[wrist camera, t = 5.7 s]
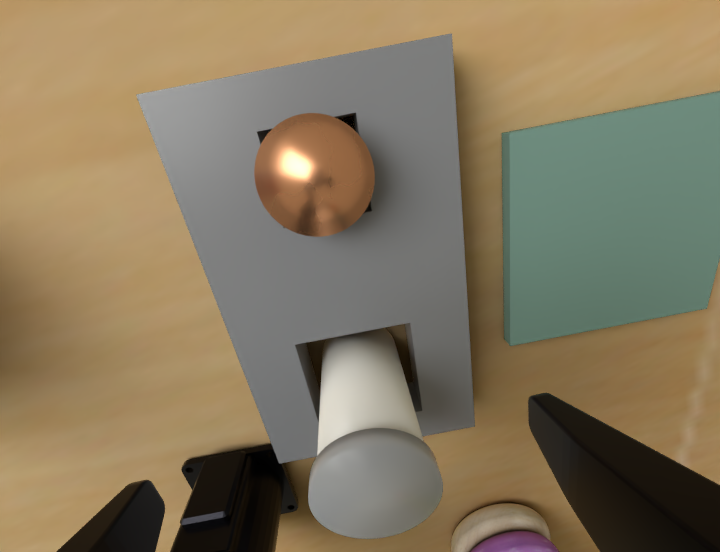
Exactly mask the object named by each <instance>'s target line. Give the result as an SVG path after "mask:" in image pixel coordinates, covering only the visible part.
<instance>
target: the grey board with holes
mask: <svg viewBox="0 0 720 552" xmlns="http://www.w3.org/2000/svg"><path fill="white" fill-rule="evenodd" d="M136 96H137V98H138V101H139V103H140V106H141V109H142V111H143V114H144V116H145V119H146V122H147V124H148V127H149V129H150V132H151V134H152V137H153V140H154V142H155V145H156V147H157V150H158V152H159V155H160V158H161V160H162V163H163V165H164V168H165V171H166V173H167V176H168V178H169V181H170V183H171V186H172V189H173V191H174V194H175V196H176V199H177V201H178V204H179V207H180V209H181V212H182V214H183V217H184V220H185V222H186V225H187V227H188V230H189V232H190V235H191V238H192V240H193V243H194V245H195V248H196V250H197V253H198V256H199V258H200V261H201V263H202V266H203V269H204V271H205V274H206V276H207V279H208V281H209V284H210V287H211V289H212V292H213V294H214V297H215V299H216V302H217V305H218V307H219V310H220V312H221V315H222V318H223V320H224V323H225V325H226V328H227V330H228V333H229V336H230V338H231V341H232V343H233V346H234V348H235V351H236V354H237V356H238V359H239V361H240V364H241V367H242V369H243V372H244V374H245V377H246V379H247V382H248V385H249V387H250V390H251V392H252V395H253V397H254V400H255V403H256V405H257V408H258V410H259V413H260V416H261V418H262V421H263V423H264V426H265V428H266V431H267V434H268V436H269V439H270V441H271V444H272V446H273V449H274V452H275V454H276V457H277V459H278V462H279V464H280V463H286V462H291V461H296V460H301V459H307V458H312V457H317V450H318V431H319V412H320V390H319V387H318V383H317V380H316V376H315V373H314V369H313V366H312V362H311V359H310V355H309V352H308V348H307V345H306V343H307V342H312V341H317V340H322V339H328V338H333V337H338V336H343V335H349V334H354V333H359V332H364V331H369V330H375V329H380V328H385V327H390V326H396V325H401V324H405V329H406V336H407V343H408V349H409V356H410V363H411V370H412V377H413V382H410V383H407V386H408V389H409V393H410V396H411V399H412V403H413V406H414V410H415V413H416V417H417V420H418V423H419V427H420V430H421V434H422V436H427V435H432V434H438V433H443V432H448V431H453V430H459V429H464V428H469V427H474V426H475V419H474V402H473V385H472V368H471V351H470V334H469V317H468V300H467V284H466V267H465V250H464V233H463V216H462V199H461V182H460V165H459V148H458V131H457V114H456V97H455V80H454V63H453V46H452V34H447V35H441V36H436V37H431V38H426V39H421V40H416V41H411V42H405V43H400V44H395V45H390V46H385V47H380V48H374V49H369V50H364V51H359V52H354V53H349V54H343V55H338V56H333V57H328V58H323V59H318V60H313V61H307V62H302V63H297V64H292V65H287V66H282V67H276V68H271V69H266V70H261V71H256V72H251V73H246V74H240V75H235V76H230V77H225V78H220V79H215V80H209V81H204V82H199V83H194V84H189V85H184V86H179V87H173V88H168V89H163V90H158V91H153V92H148V93H142V94H137V95H136ZM305 113H320V114H325V115H329V116H332V117H335V118H337V119H338V118H343V117H349V116H353V120H354V126H355V131H356V132H357V133H358V135H359V136H360V137H361V138H362V140H363V141H364V143H365V144H366V146H367V148H368V150H369V152H370V155H371V157H372V161H373V165H374V172H375V184H374V190H373V194H372V197H371V200H370V202H369V205H368V207H367V208H366V210H365V212H364V213H363V214H362V216H361V217H360V218H359V219H358V220H357V221H356V222H355V223H354V224H352V225H351V226H350V227H348V228H347V229H345V230H343V231H341V232H339V233H336V234H333V235H329V236H322V237H312V236H305V235H301V234H298V233H295V232H293V231H291V230H289V229H287V228H285V227H284V226H282V225H281V224H279V223H278V222H277V221H276V220H275V219H274V218H273V217H272V216H271V215H270V214H269V213H268V211H267V210H266V208H265V207H264V206H263V204H262V202H261V200H260V198H259V195H258V192H257V189H256V184H255V176H254V168H255V160H256V156H257V153H258V150H259V147H260V145H261V143H262V141H263V140H264V138H265V137H266V135H267V134H268V132H270V131H271V130H272V129H273V128H274V127H275V126H276V125H277V124H279V123H280V122H282V121H284V120H285V119H287V118H290V117H292V116H295V115H299V114H305Z"/></svg>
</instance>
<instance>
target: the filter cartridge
mask: <svg viewBox="0 0 720 552" xmlns="http://www.w3.org/2000/svg"><path fill="white" fill-rule="evenodd" d="M442 492H443V482H442V478H441V474H440V471H439V468H438V465H437V462H436V459H435V456H434V454H433V452H432V451H431V449H430V448H429V447H428V446H427V444H426V443H424V441H423V437H422V434H421V430H420V427H419V423H418V420H417V417H416V413H415V410H414V406H413V403H412V399H411V396H410V393H409V389H408V386H407V382H406V379H405V376H404V372H403V369H402V365H401V362H400V358H399V355H398V352H397V348H396V345H395V341H394V339H393V337H392V335H391V334H390V333H389V332H388V331H387V330H386V329H385V328H380V329H375V330H369V331H364V332H359V333H354V334H349V335H343V336H338V337H333V338H328V339H326V341H325V343H324V346H323V354H322V373H321V392H320V412H319V431H318V450H317V457H316V458H315V460H314V462H313V464H312V467H311V470H310V477H309V491H308V503H309V507H310V510H311V512H312V514H313V516H314V517H315V518H316V520H317V521H318V522H319V523H320V524H322V525H323V526H324V527H326V528H327V529H329V530H331V531H333V532H335V533H337V534H340V535H343V536H347V537H352V538H360V539H375V538H383V537H389V536H393V535H396V534H400V533H402V532H405V531H407V530H410V529H411V528H413V527H415V526H417V525H418V524H420V523H421V522H423V521H424V520H425V519H426V518H428V517H429V516H430V515H431V514H432V513H433V511H434V510H435V509H436V507H437V506H438V504H439V502H440V500H441V497H442Z"/></svg>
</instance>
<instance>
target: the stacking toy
mask: <svg viewBox="0 0 720 552" xmlns="http://www.w3.org/2000/svg"><path fill="white" fill-rule="evenodd" d="M451 550H452V552H559V551H558V549H557V548H556V547H555V545H554V544H553V543H552V542H551V541H550V532H549V528H548V526H547V524H546V522H545V521H544V519H543V518H542V517H541V515H539V514H538V513H537V512H536V511H534V510H533V509H531V508H529V507H526V506H523V505H519V504H512V503H503V504H495V505H490V506H487V507H484V508H481V509H479V510H477V511H475V512H473V513H471V514H470V515H468V516H467V517H466V518H464V519H463V520H462V521H461V522H460V523H459V525H458V526H457V527H456V529H455V531H454V533H453V536H452V540H451Z"/></svg>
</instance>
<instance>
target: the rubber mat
mask: <svg viewBox="0 0 720 552" xmlns="http://www.w3.org/2000/svg"><path fill="white" fill-rule="evenodd" d="M502 198H503V283H504V339H505V340H506V342H507V343H508V344H509V345H510V346H513V345H518V344H524V343H529V342H534V341H539V340H545V339H550V338H555V337H560V336H566V335H571V334H576V333H581V332H586V331H592V330H597V329H602V328H607V327H613V326H618V325H623V324H628V323H634V322H639V321H644V320H649V319H654V318H660V317H665V316H670V315H675V314H681V313H686V312H691V311H696V310H702V309H707V306H708V302H709V298H710V294H711V290H712V286H713V282H714V278H715V274H716V270H717V267H718V263H719V259H720V91H717V92H712V93H707V94H702V95H697V96H691V97H686V98H681V99H676V100H671V101H665V102H660V103H655V104H650V105H645V106H640V107H634V108H629V109H624V110H619V111H614V112H609V113H603V114H598V115H593V116H588V117H583V118H577V119H572V120H567V121H562V122H557V123H552V124H546V125H541V126H536V127H531V128H526V129H520V130H515V131H510V132H505V133H502Z"/></svg>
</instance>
